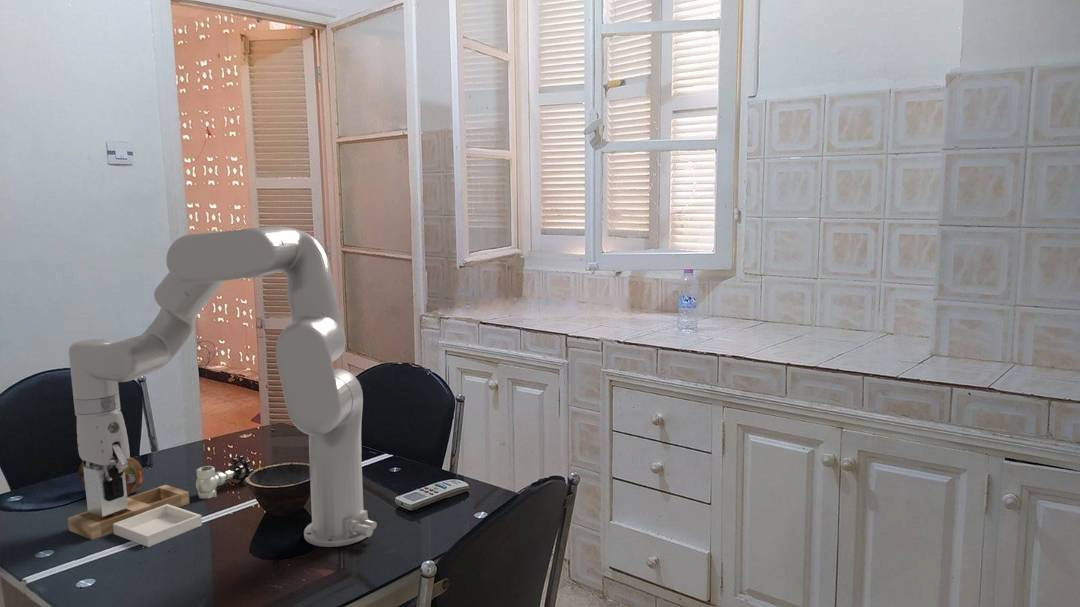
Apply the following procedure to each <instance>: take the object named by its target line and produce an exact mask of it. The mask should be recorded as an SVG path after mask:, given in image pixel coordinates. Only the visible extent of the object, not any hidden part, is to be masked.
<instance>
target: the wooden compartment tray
mask: <svg viewBox="0 0 1080 607" xmlns="http://www.w3.org/2000/svg"><path fill="white" fill-rule="evenodd" d="M189 494H190V492H189V491H187V490H184V489H182V488H177V487H175V486H171V485H168V484H163V485H160V486H158V487H155V488H152V489H149V490H146V491H143V492H139V493H137V494H134V495H131V496H127V500H128V508H126V509H123V510H120V511H117V512H114V513H112V514H109V515H106V516H103V517H102V516H99V515H96V514H93V513H90V512H88V510H86V511H84V512H81V513H78V514H75V515H73V516H70V517H67V525H68V526H67V527H68V531H69V532H70V533H71V532H72V533H74V534H76V535H78V536H81V537H84V538H87V539H89V540H95V539H98V538H100V537H104V536H106V535H109V534H111V533H114V530H113V523H116V522H119V521H122V520H124V519H127V518H130V517H133V516H135V515H138V514H141V513H144V512H146V511H149V510H152V509H155V508H157V507H160V506H163V505H166V504H169V505H172V506H175V507H178V508H181V507H183V506H186V505H189V504H190V495H189Z"/></svg>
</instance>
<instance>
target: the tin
mask: <svg viewBox="0 0 1080 607" xmlns="http://www.w3.org/2000/svg"><path fill="white" fill-rule="evenodd" d="M113 460H114V459H113ZM114 461H115V460H114ZM127 462H128V466H127V468H126V469H125V480H126V490H127V496H130V495H131V494H134V493H136V492H137V491H139V490H140V489H141V487H142V486H143V484H144V477H145V476H144V469H143V467H142V464H140V462H139V461H138V460H137V459H135V458H134V457H132V456H130V458H129V459H128V460H127ZM83 467H85V465H84V464H83V461H82V462H81V463H80V466H79V468H78V480H79V482H80V485H81V486H82V487H83V489H84V490H85V491H86V489H85V479H84V470H83Z"/></svg>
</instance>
